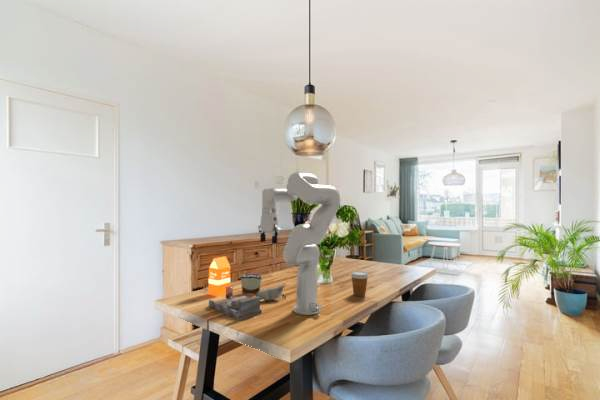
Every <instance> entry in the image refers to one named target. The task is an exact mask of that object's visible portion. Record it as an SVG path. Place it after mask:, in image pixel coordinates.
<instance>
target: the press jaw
mask: <svg viewBox="0 0 600 400" xmlns="http://www.w3.org/2000/svg"><path fill="white" fill-rule="evenodd" d="M233 288H234V287H233V285H230V286H226V294H225V299H227V307H229V308H231V309H234V310H235V309H238V308H239V301H242V300H245V299H249V297H248V296H247V295H246V296H245V295H242V296H236V297H237V298H232V297H233V296H234V294H233V290H234V289H233Z"/></svg>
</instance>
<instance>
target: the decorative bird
mask: <svg viewBox="0 0 600 400" xmlns="http://www.w3.org/2000/svg"><path fill="white" fill-rule="evenodd" d="M285 288H286V284H282V285H279V286H278V285H277V286H276V287H269V288H266V289H260V291H259V292H258V293H257V294H255V297H256V296H258V297H260V301H261V300H262V301H265V302H266V301H273V300H276V299H278V298H280V297H281V296H282V298H284V299H283V300H287V299H286V298H287V294H286V293H283V290H284V289H285Z"/></svg>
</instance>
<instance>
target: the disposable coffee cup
mask: <svg viewBox="0 0 600 400" xmlns="http://www.w3.org/2000/svg"><path fill="white" fill-rule="evenodd" d="M350 276H351V283H352V292H353V295H354V296H355V297H365V296H366V293H367V292H366V291H367V284H368V278H369V274H368V272H366V271H362V270H361V271H358V270H357V271H352V272H351V273H350Z"/></svg>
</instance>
